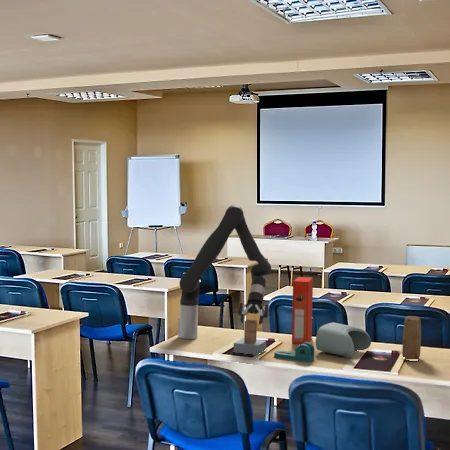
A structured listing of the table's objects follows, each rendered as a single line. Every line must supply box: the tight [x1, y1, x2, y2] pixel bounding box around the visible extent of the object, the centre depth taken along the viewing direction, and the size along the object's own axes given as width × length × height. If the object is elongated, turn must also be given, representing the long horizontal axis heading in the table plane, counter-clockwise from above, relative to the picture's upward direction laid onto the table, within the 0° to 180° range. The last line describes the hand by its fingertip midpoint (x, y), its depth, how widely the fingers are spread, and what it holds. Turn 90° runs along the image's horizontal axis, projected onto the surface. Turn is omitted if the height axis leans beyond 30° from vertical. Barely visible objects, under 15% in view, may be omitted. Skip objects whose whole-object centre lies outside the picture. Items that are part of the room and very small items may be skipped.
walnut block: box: [243, 319, 258, 343], centre depth 309 cm, size 5×5×10 cm
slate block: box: [233, 337, 267, 356], centre depth 309 cm, size 12×12×5 cm
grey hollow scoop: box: [315, 321, 372, 358], centre depth 310 cm, size 22×19×13 cm
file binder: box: [291, 276, 314, 346], centre depth 332 cm, size 8×17×32 cm, turn 165°
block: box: [401, 315, 422, 360], centre depth 301 cm, size 11×8×20 cm
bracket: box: [273, 341, 315, 364], centre depth 298 cm, size 18×7×8 cm, turn 64°
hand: (251, 323), depth 310 cm, fingers open, 8 cm apart
